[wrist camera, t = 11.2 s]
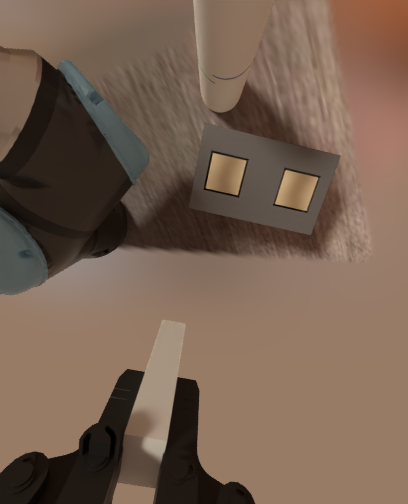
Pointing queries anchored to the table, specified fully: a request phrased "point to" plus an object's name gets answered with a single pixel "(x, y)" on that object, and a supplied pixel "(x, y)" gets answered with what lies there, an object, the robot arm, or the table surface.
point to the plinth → (261, 178)
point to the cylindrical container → (227, 46)
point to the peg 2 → (295, 190)
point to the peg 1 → (225, 174)
